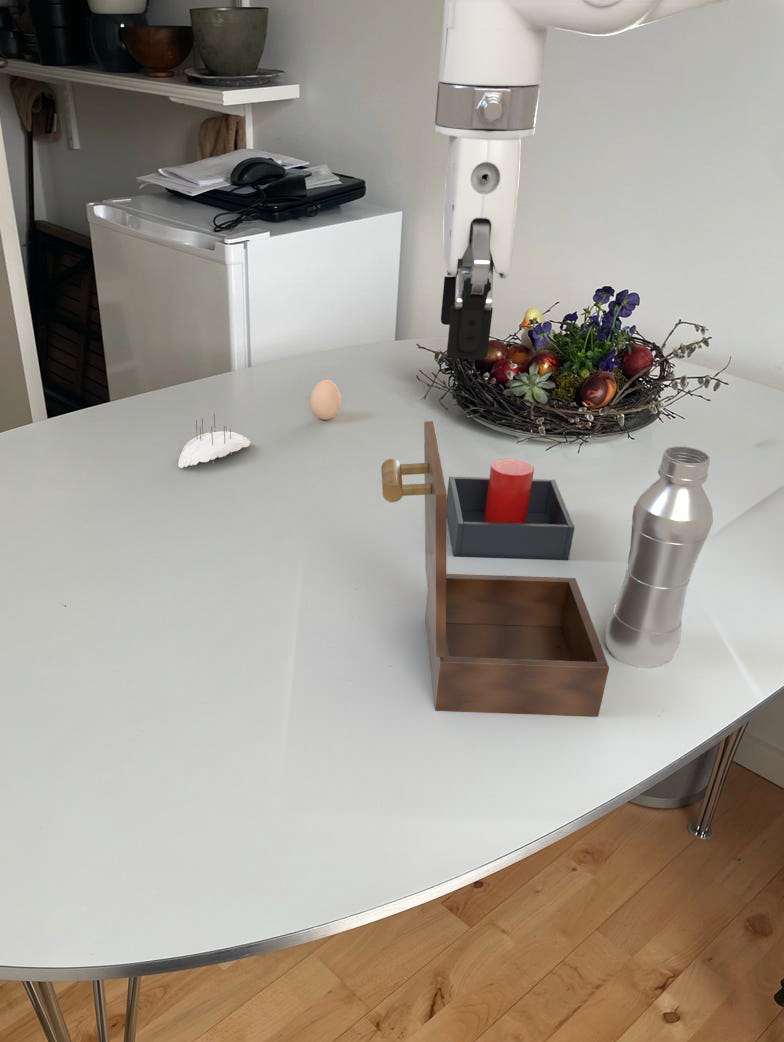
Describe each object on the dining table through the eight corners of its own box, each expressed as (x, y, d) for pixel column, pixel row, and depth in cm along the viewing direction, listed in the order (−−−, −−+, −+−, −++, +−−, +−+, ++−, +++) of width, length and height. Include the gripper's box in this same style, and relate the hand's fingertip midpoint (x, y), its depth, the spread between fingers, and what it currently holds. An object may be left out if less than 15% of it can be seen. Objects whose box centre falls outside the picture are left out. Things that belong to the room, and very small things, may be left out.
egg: (303, 418, 140) (303, 379, 137) (325, 411, 142) (326, 373, 139) (324, 427, 137) (325, 387, 134) (347, 419, 140) (348, 380, 136)
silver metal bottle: (652, 635, 93) (702, 437, 82) (687, 675, 87) (746, 469, 76) (588, 640, 92) (630, 441, 81) (620, 682, 86) (669, 474, 75)
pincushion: (234, 439, 133) (233, 399, 130) (264, 451, 129) (264, 410, 126) (165, 463, 126) (162, 421, 123) (195, 477, 122) (193, 434, 119)
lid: (433, 420, 82) (379, 423, 83) (446, 493, 70) (383, 496, 71) (434, 568, 90) (384, 570, 91) (445, 656, 78) (388, 659, 79)
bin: (549, 514, 114) (554, 479, 112) (567, 564, 104) (574, 527, 102) (445, 511, 115) (449, 476, 112) (454, 561, 105) (458, 523, 102)
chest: (565, 629, 93) (575, 577, 90) (596, 724, 81) (609, 667, 78) (424, 625, 94) (429, 572, 91) (434, 718, 82) (440, 661, 78)
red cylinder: (520, 524, 111) (530, 458, 107) (526, 543, 107) (537, 476, 103) (480, 522, 111) (488, 457, 107) (485, 541, 107) (493, 474, 103)
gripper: (553, 125, 65) (518, 374, 75) (522, 102, 80) (496, 314, 89) (441, 122, 66) (421, 371, 75) (431, 100, 80) (415, 311, 90)
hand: (462, 340), depth 82 cm, fingers open, 9 cm apart
